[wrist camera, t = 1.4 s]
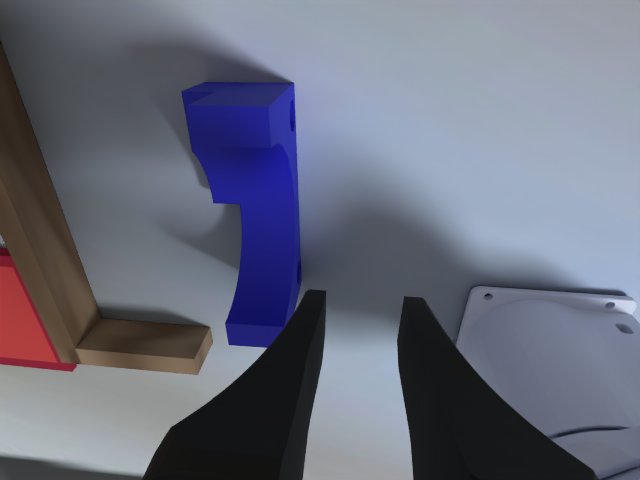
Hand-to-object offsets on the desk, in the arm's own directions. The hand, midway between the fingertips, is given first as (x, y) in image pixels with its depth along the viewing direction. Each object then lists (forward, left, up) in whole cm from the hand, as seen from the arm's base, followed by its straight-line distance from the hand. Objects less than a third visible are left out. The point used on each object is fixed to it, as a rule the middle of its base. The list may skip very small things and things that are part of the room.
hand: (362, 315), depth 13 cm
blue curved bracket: (+6, 0, -10) cm, 11 cm away
